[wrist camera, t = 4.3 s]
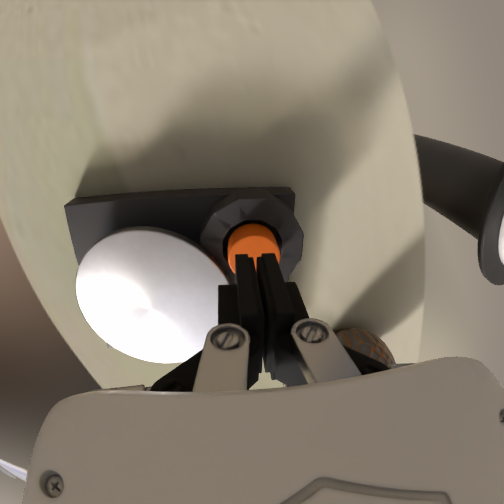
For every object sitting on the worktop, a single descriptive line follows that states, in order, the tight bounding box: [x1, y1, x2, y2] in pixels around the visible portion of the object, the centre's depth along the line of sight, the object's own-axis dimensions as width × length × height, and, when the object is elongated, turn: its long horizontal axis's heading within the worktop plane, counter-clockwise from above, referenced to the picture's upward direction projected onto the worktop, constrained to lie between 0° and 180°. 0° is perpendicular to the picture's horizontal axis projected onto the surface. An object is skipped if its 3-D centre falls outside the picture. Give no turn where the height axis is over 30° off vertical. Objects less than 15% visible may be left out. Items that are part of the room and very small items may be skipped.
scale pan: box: [76, 226, 231, 363], centre depth 16 cm, size 10×10×1 cm
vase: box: [335, 329, 396, 367], centre depth 20 cm, size 7×7×9 cm
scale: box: [64, 187, 304, 348], centre depth 18 cm, size 14×12×3 cm
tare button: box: [228, 223, 280, 273], centre depth 15 cm, size 3×3×2 cm
